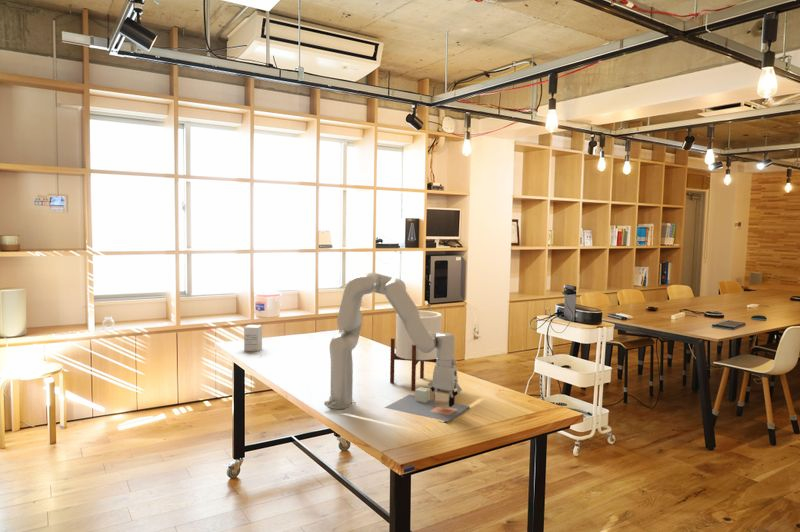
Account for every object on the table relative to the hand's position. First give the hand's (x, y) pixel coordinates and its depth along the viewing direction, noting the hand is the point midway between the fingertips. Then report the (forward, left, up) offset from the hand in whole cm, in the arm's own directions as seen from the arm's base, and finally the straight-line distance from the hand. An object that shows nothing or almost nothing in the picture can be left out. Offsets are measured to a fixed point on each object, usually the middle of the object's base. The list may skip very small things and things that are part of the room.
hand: (444, 404), depth 231 cm
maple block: (0, 0, -1) cm, 1 cm away
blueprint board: (0, +8, -4) cm, 9 cm away
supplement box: (+40, +152, -4) cm, 157 cm away
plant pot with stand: (+30, +29, -4) cm, 42 cm away
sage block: (+7, +14, -3) cm, 16 cm away
